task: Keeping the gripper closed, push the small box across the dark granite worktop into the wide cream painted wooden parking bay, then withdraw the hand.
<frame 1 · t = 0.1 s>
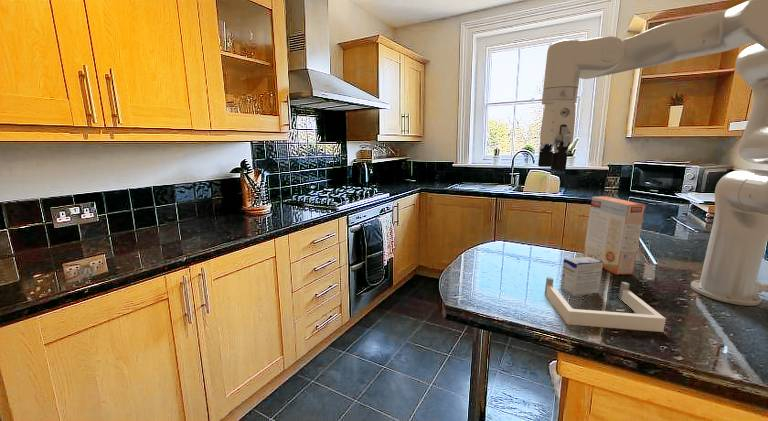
hand: (550, 168, 84), 31 cm above the worktop, fingers open, 9 cm apart
cracker box: (606, 266, 103), on the worktop
box: (578, 292, 86), on the worktop
dock: (597, 310, 76), on the worktop
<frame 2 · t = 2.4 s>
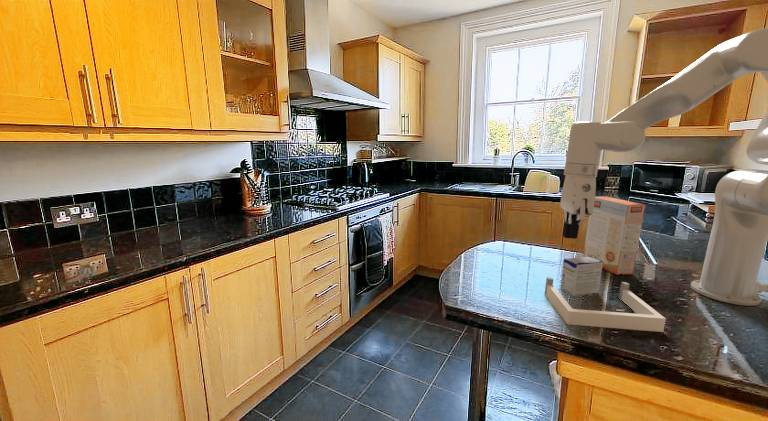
hand: (569, 237, 91), 12 cm above the worktop, fingers closed
nothing on the worktop moved.
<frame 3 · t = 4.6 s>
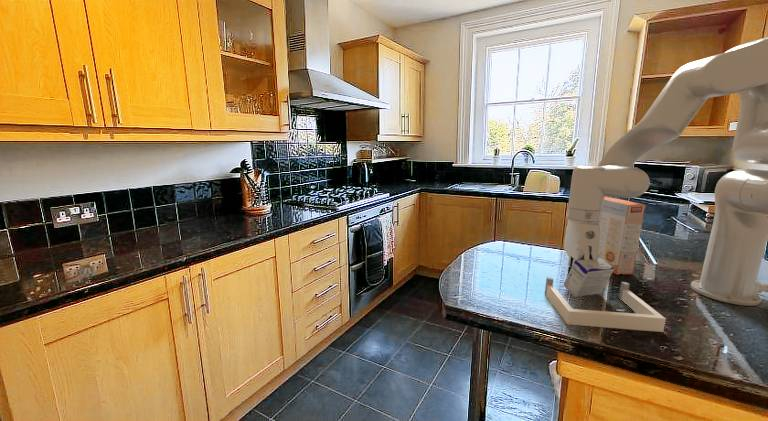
hand: (574, 282, 88), 1 cm above the worktop, fingers closed
box: (580, 290, 85), point 1 cm above the worktop
everything else where it was.
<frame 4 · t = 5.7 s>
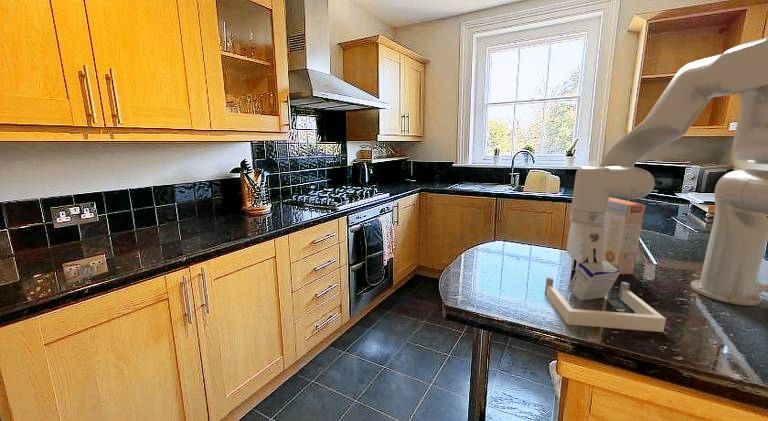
hand: (577, 285, 86), 1 cm above the worktop, fingers closed
box: (585, 293, 83), point 1 cm above the worktop, touching gripper
everything else where it was.
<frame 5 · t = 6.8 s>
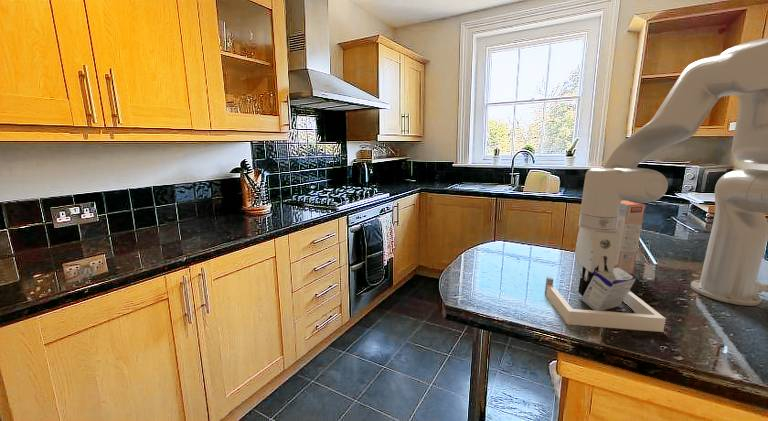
hand: (586, 294, 81), 1 cm above the worktop, fingers closed
box: (599, 303, 78), on the worktop, touching gripper
everything else where it was.
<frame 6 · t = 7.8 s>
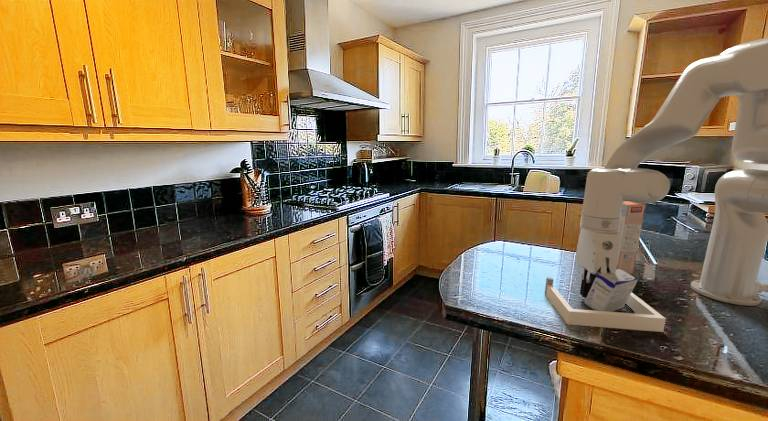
hand: (588, 296, 80), 1 cm above the worktop, fingers closed
box: (602, 306, 77), on the worktop
everything else where it was.
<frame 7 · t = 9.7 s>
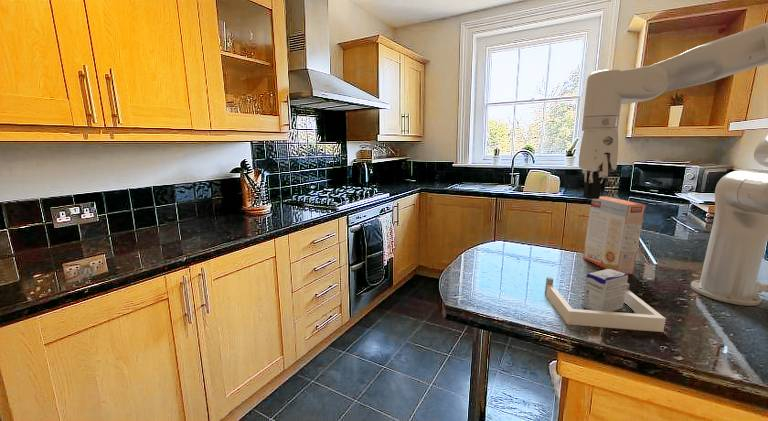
hand: (591, 198, 85), 23 cm above the worktop, fingers closed
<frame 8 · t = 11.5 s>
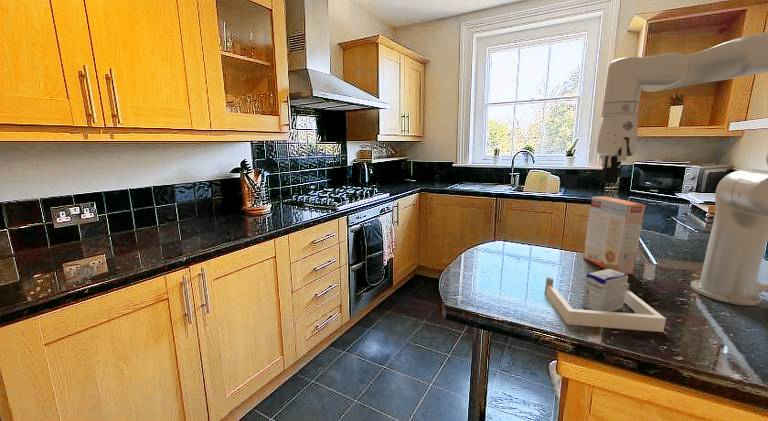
hand: (608, 182, 88), 27 cm above the worktop, fingers closed
at the end: box inside the target area (2.7 cm from its centre), on the worktop; box tilted 0° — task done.
